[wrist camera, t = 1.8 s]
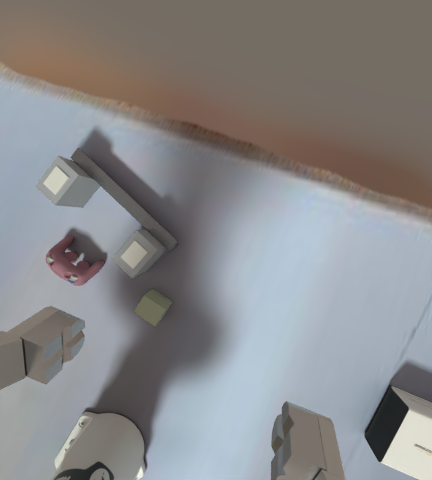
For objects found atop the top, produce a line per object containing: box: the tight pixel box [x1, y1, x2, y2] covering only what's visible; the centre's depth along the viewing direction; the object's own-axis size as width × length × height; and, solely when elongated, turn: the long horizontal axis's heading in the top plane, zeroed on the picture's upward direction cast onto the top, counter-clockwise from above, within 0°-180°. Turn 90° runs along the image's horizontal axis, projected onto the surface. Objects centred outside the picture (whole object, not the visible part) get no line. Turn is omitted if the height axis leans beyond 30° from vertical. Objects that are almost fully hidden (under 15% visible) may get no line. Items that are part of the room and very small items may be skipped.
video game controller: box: [46, 236, 104, 286], centre depth 47 cm, size 10×5×7 cm, turn 53°
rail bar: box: [71, 148, 178, 251], centre depth 46 cm, size 2×26×3 cm, turn 47°
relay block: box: [134, 289, 172, 327], centre depth 46 cm, size 4×5×4 cm
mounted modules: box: [36, 156, 167, 279], centre depth 44 cm, size 7×24×7 cm, turn 47°
